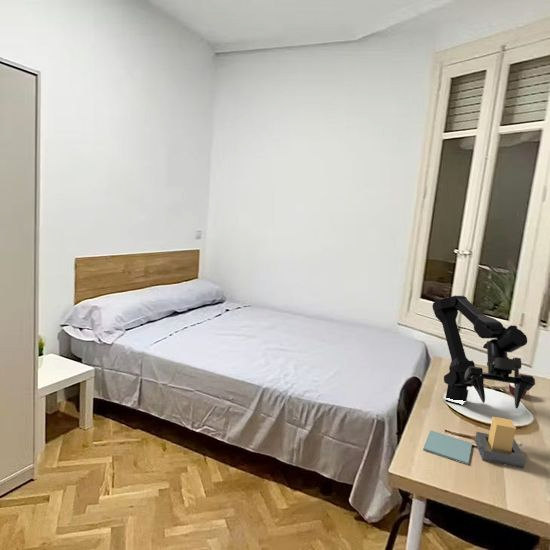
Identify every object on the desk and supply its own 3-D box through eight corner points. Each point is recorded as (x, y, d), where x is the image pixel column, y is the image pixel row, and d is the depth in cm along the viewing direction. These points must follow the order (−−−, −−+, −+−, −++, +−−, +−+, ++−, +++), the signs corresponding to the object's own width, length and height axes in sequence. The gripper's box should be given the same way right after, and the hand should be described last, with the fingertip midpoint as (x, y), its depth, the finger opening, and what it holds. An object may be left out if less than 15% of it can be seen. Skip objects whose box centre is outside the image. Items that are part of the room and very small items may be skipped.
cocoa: (526, 402, 168) (534, 372, 165) (507, 397, 170) (515, 368, 167) (524, 391, 176) (531, 363, 173) (506, 387, 179) (513, 359, 176)
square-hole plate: (482, 460, 126) (484, 450, 125) (474, 440, 136) (476, 431, 135) (523, 468, 123) (525, 458, 123) (512, 447, 134) (514, 438, 133)
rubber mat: (423, 450, 128) (423, 448, 128) (430, 431, 138) (430, 430, 138) (468, 464, 123) (468, 463, 123) (471, 444, 133) (472, 443, 133)
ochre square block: (490, 456, 128) (496, 424, 126) (486, 447, 132) (492, 416, 131) (509, 460, 127) (516, 428, 125) (504, 451, 131) (511, 419, 130)
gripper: (472, 341, 137) (474, 389, 129) (539, 350, 133) (545, 401, 125) (463, 356, 146) (464, 402, 138) (526, 366, 142) (530, 414, 134)
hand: (500, 405), depth 133 cm, fingers open, 9 cm apart
